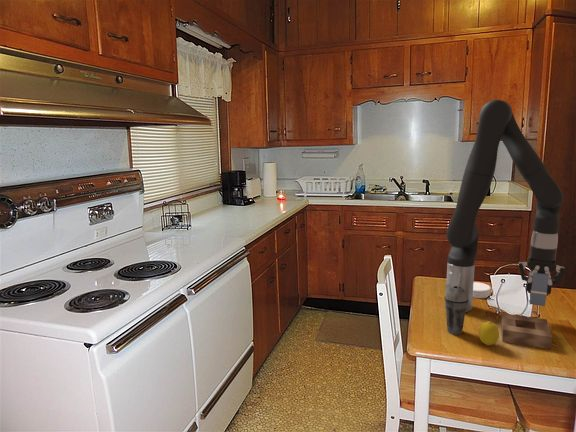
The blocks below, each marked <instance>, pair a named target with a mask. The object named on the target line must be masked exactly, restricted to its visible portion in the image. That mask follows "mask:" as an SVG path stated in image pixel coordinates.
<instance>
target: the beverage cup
mask: <svg viewBox="0 0 576 432" xmlns="http://www.w3.org/2000/svg"><path fill="white" fill-rule="evenodd" d="M460 279H461V273H460V274H459V281H458V286H453V287H451V288H449V289H448V290H447V291H446V290H445V293H446V294H444V305H445V304H446V308H445V313H446V314H445V317H446V329H447V333H448V334H451V335H453V336H454V335H456V336H459V335H461V334H463V329H464V323H465V317H466V307H467V304H468V295H467V293H466V291H465V290H464V289H463V288H461V287H459V286H460Z"/></svg>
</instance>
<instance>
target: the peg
mask: <svg viewBox="0 0 576 432" xmlns="http://www.w3.org/2000/svg"><path fill="white" fill-rule="evenodd" d="M548 279H549V275H548V274H544V273H533V279H532V287H531V293H530V300H529V299H528V302H529V305H534V306H541V307H546V301H547V286H548Z"/></svg>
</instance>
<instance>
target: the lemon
mask: <svg viewBox="0 0 576 432" xmlns="http://www.w3.org/2000/svg"><path fill="white" fill-rule="evenodd" d="M478 331H479V332H478V336H479V339H480V341H481V342H482V343H483V344H485V345H486V346H487V347H490V346H493V345H495V344H497V342H498V340H499V339H500V331H499V327H498V326H497V325H496V324H495V323H493V322H492V321H490V320H489V321H485V322H483V323H481V324H480V327H479V330H478Z"/></svg>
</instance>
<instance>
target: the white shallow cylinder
mask: <svg viewBox="0 0 576 432" xmlns="http://www.w3.org/2000/svg"><path fill="white" fill-rule="evenodd" d="M491 292H492V287H491V285H489V284H486V283H483V282H478V281H474V283H473V298H476V299H487V297H488V296H489V295H490V296H491V295H492V293H491ZM488 298H489V297H488Z"/></svg>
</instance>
